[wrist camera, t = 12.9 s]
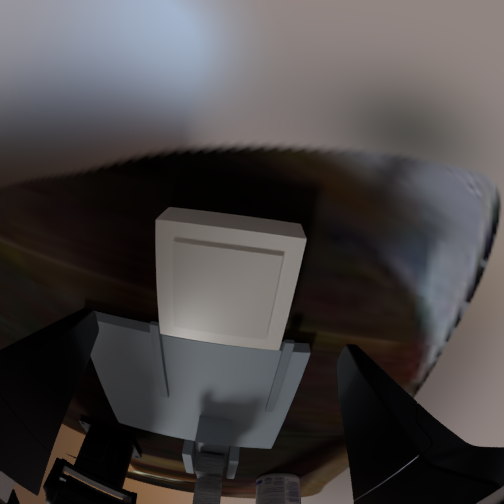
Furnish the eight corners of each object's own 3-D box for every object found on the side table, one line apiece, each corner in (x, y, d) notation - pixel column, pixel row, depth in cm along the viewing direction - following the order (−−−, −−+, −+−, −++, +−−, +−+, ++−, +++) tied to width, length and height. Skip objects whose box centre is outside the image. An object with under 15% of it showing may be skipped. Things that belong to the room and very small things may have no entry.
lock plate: (271, 441, 21) (271, 482, 17) (121, 416, 20) (107, 452, 16) (312, 331, 15) (325, 393, 11) (81, 296, 15) (43, 341, 11)
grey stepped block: (221, 480, 19) (217, 521, 15) (200, 478, 19) (194, 518, 15) (225, 455, 16) (219, 509, 12) (197, 451, 16) (189, 505, 12)
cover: (277, 323, 15) (278, 352, 13) (171, 308, 15) (159, 335, 13) (299, 221, 13) (307, 240, 11) (171, 204, 13) (154, 220, 10)
